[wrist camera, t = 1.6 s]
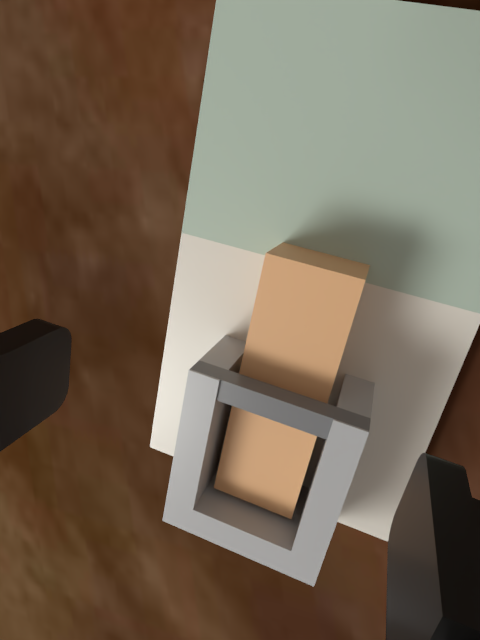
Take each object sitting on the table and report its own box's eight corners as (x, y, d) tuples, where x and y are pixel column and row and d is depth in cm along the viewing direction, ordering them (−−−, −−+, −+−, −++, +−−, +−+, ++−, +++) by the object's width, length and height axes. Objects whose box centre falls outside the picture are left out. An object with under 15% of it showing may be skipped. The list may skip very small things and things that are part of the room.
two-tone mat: (593, 34, 16) (680, -26, 11) (388, 527, 25) (385, 617, 20) (227, -14, 19) (169, -77, 14) (157, 437, 28) (105, 495, 23)
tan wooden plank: (370, 265, 20) (365, 279, 17) (303, 480, 24) (291, 519, 22) (282, 242, 21) (265, 252, 18) (233, 453, 25) (213, 488, 23)
